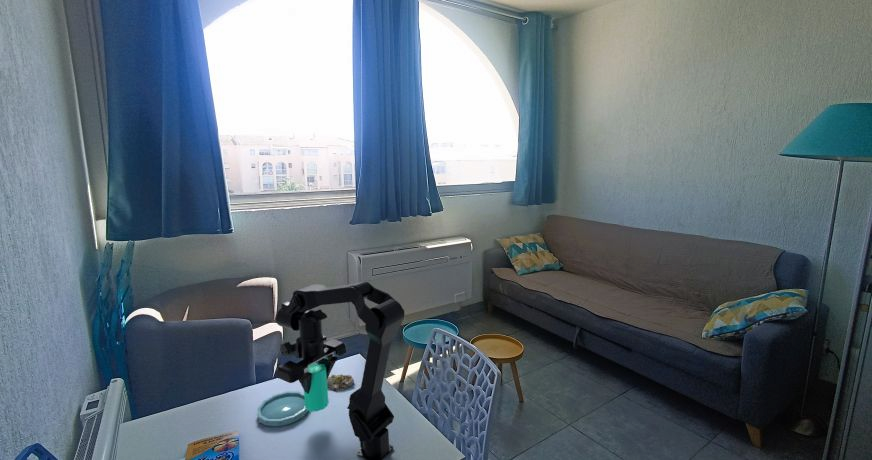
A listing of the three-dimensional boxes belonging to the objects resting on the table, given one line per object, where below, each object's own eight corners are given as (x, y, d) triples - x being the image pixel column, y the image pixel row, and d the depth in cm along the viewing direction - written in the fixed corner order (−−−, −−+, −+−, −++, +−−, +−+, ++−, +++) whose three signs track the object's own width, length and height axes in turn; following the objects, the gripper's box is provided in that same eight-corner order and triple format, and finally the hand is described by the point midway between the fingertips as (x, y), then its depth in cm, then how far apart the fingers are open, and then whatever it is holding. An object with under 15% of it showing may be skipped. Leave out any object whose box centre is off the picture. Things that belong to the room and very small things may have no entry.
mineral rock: (356, 370, 131) (350, 376, 123) (357, 384, 130) (351, 391, 122) (324, 371, 131) (316, 378, 123) (324, 385, 130) (316, 392, 122)
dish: (320, 406, 115) (320, 399, 115) (279, 434, 103) (278, 427, 103) (289, 392, 122) (288, 386, 122) (247, 417, 111) (246, 410, 110)
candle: (321, 412, 102) (318, 369, 100) (300, 410, 104) (297, 367, 102) (332, 399, 108) (329, 358, 106) (312, 397, 109) (308, 356, 107)
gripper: (318, 315, 114) (321, 365, 117) (259, 341, 99) (265, 398, 102) (345, 323, 109) (349, 376, 111) (288, 351, 93) (294, 411, 96)
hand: (315, 389), depth 105 cm, fingers closed on candle, 5 cm apart
